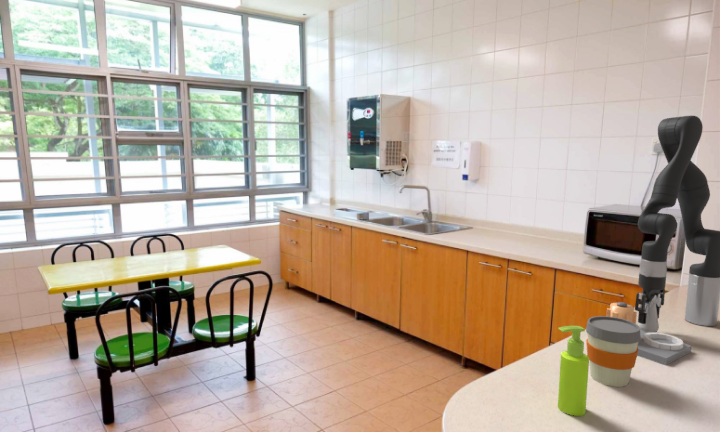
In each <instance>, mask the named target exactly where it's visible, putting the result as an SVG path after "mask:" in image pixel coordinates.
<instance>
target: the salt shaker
mask: <svg viewBox="0 0 720 432" xmlns="http://www.w3.org/2000/svg"><path fill="white" fill-rule="evenodd" d="M657 303H658V297H656V298H655V300H654V301H653V303H652V306H651V307H650V308H649V309H648V311H647V319H646V324H642V323H639V322H638V323H637V325H638V326H639V327H640V330H641V331H644V332H648V333H654V332H656V333H658V330H659V329H660V324H659V318H658V317H657V309H656V304H657Z"/></svg>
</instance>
